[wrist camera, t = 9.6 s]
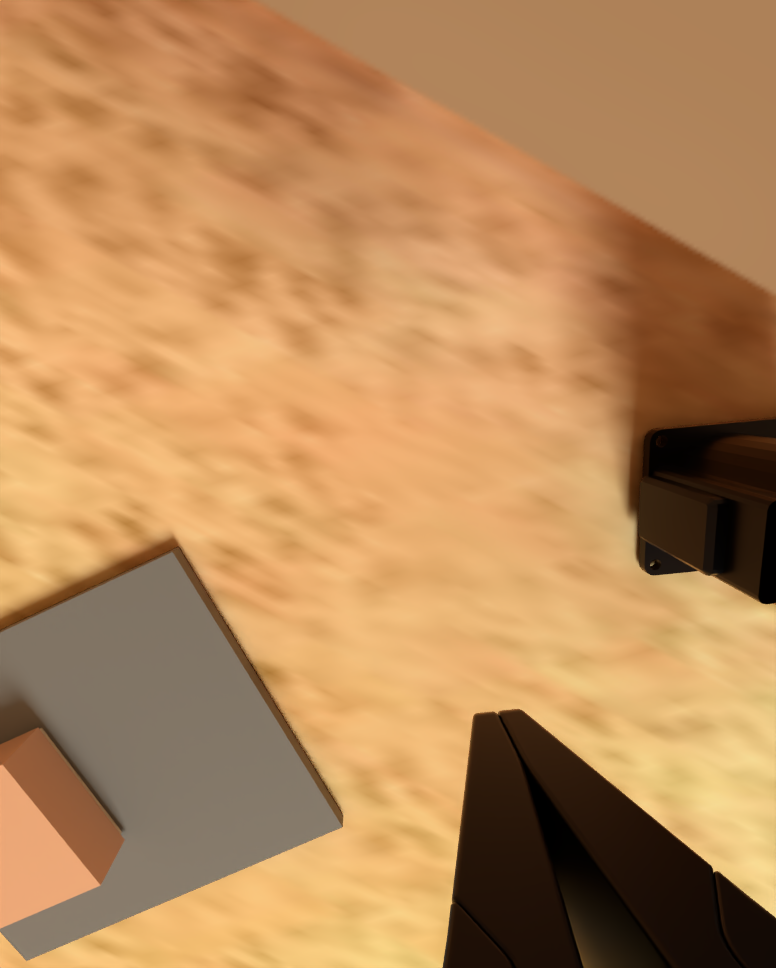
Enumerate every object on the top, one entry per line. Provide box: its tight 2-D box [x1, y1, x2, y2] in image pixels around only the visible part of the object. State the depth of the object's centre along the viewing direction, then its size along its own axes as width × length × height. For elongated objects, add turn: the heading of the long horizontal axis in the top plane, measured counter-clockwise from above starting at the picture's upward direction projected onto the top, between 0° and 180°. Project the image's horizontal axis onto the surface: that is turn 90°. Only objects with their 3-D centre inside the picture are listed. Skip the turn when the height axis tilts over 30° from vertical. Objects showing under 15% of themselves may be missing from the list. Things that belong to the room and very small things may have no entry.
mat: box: [0, 547, 343, 961], centre depth 21 cm, size 18×16×1 cm
